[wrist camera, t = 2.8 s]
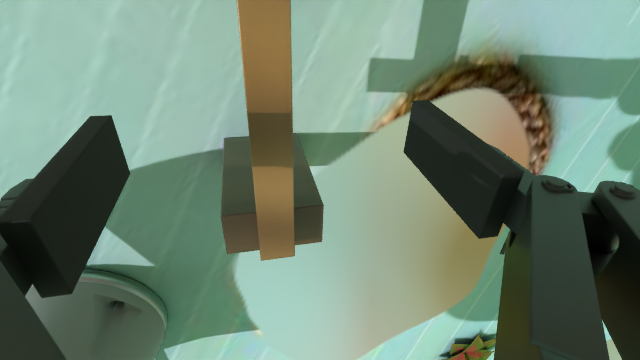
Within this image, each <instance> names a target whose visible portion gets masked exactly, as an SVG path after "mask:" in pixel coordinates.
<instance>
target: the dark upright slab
mask: <svg viewBox="0 0 640 360" xmlns="http://www.w3.org/2000/svg"><path fill="white" fill-rule="evenodd" d="M293 180H294V240H295V245H300V244H309V243H316V242H321V241H322V229H323V206H324V205H323V203H322V200H321V197H320V195H319V192H318V189H317V187H316V184H315V181H314V179H313V176H312V173H311V171H310V168H309V165H308V163H307V160H306V157H305V155H304V152H303V149H302V147H301V144H300V141H299V139H298V136H297V134H293ZM221 221H222V227H223V233H224V239H225V245H226V251H227V254H232V253H240V252H248V251H255V250H260V246H259V236H258V225H257V214H256V203H255V193H254V182H253V171H252V160H251V150H250V139H249V137H237V138H224V151H223V175H222V199H221Z"/></svg>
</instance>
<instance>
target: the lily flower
mask: <svg viewBox="0 0 640 360" xmlns="http://www.w3.org/2000/svg"><path fill="white" fill-rule="evenodd" d="M479 337H480V336H479V335H478V336H477V337H476V338H475V340H474V341H473V342H472V343H471V345H468V344H452V346H451V350H450V356H453V357H451V358H449V359H443V360H486V359H487V358H488V357H489V356H490V355H491V353H493V352H494V351H488V350H487V349H489V348H491V347H492V346H493V345H494V343H495V342H496V338H494V339H492V340H489V341H485V342H483V341H482V340H481V338H479Z"/></svg>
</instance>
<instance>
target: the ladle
mask: <svg viewBox="0 0 640 360" xmlns="http://www.w3.org/2000/svg"><path fill="white" fill-rule="evenodd" d="M237 10H238V20H239V31H240V42H241V53H242V63H243V74H244V85H245V96H246V106H247V117H248V128H249V139H250V150H251V160H252V171H253V182H254V193H255V203H256V214H257V225H258V236H259V246H260V256H261V260H270V259H277V258H284V257H292V256H294V255H295V240H294V180H293V121H292V61H291V2H290V0H237Z"/></svg>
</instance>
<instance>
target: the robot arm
mask: <svg viewBox="0 0 640 360" xmlns="http://www.w3.org/2000/svg"><path fill="white" fill-rule="evenodd" d="M404 153H405V154H406V155H407V157H408V158H409V159H410V160H411V161H412V162H413V164H414V165H415V166H416V167H417V168H418V169H419V170H420V172H421V173H422V174H423V175H424V176H425V177H426V178H427V180H428V181H429V182H430V183H431V184H432V185H433V187H434V188H435V189H436V190H437V191H438V192H439V193H440V194H441V196H442V197H443V198H444V199H445V200H446V201H447V202H448V204H449V205H450V206H451V207H452V208H453V210H454V211H456V213H457V214H458V215H459V216H460V217H461V219H462V220H463V221H464V222H465V223H466V224H467V226H468V227H469V228H470V229H471V230H472V231H473V232H474V234H475V235H476V236H477V237H478V238H479V239H480V238H488V237H495V236H498V234H499V232H500V229H501V227H502V224H503V223H504V224H505V225H506V226H507V227H508V228H509V229H510V232H509V234H508V236H507V238H506V241H505V243H504V245H503V248H502V250H501V252H500V254H504V252H505V259H504V268H503V277H502V287H501V296H500V306H499V315H498V324H497V334H496V343H495V353H494V360H609V354H608V350H607V344H606V339H605V333H604V328H603V323H602V320H603V322H604V324H605V326H606V328H607V330H608V332H609V334H610V336H611V338H612V340H613V342H614V344H615V346H616V348H617V350H618V352H619V354H620V356H621V358H622V360H640V190H638V189H636V188H634V187H633V186H631V185H629V184H627V185H626V183H623V182H620V183H619V182H615V181H603V182H600V183H599V185H598V186H597V188H596V190H595V192H594V193H587V192H578V191H577V190H576V188H575V187H574V186H573V185H572V184H570V183H569V182H567V181H565V180H563V179H560V178H556V177H553V176H547V175H538V176H535V175H534V174H532V173H531V172H529V171H528V170H527V169H525V168H524V167H522V166H521V165H520V164H518V163H517V162H516V161H514V160H513V159H512V158H510V157H509V156H506V154H504V153H503V152H502V151H501V150H499V149H497V148H495V147H493V146H491V145H489V144H486V143H485V142H484V141H482V140H481V139H480V138H478V137H477V136H476V135H474V134H473V133H471V132H470V131H469V130H467V129H466V128H465V127H463V126H462V125H461V124H459V123H458V122H457V121H455V120H454V119H453V118H451V117H450V116H448V115H447V114H446V113H444V112H443V111H442V110H440V109H439V108H438V107H436V106H435V105H434V104H432V103H431V102H430V101H428V100H422V101H413V104H412V109H411V115H410V120H409V126H408V131H407V136H406V142H405V147H404ZM129 175H130V171H129V168H128V165H127V162H126V159H125V156H124V153H123V150H122V147H121V144H120V141H119V137H118V134H117V131H116V128H115V125H114V122H113V119H112V116H111V115H109V116H90V117H89V118H88V119H87V121H86V122H85V123H84V124H83V125H82V126H81V127H80V128H79V129H78V130H77V132H76V133H75V134H74V135H73V136H72V137H71V138H70V139H69V140H68V141H67V143H66V144H65V145H64V146H63V147H62V148H61V149H60V150H59V151H58V152H57V154H56V155H55V156H54V157H53V158H52V159H51V160H50V161H49V162H48V163H47V165H46V166H45V167H44V168H43V169H42V170H41V171H40V172H39V173H38V174H37V176H36V177H35V178H34V179H26V180H24V181H23V182H21V183H19V184H18V185H16V186H14V187H13V188H11V189H10V190H9V191H8V192H7V193H6V194H5V195H4V196H3V197H2V198H1V201H0V360H154V359H155V357H156V355H157V353H158V351H159V349H160V348H161V345H162V342H163V340H164V337H165V332H166V327H167V312H166V308H165V306H164V304H163V303H162V301H161V300H160V298H159V297H158V296H157V295H156V294H155V293H154V292H153V291H151V290H150V289H149V288H147V287H146V286H144V285H143V284H141V283H139V282H137V281H135V280H132V279H130V278H127V277H125V276H122V275H118V274H114V273H110V272H105V271H99V270H89V269H84V268H85V266H86V264H87V262H88V260H89V258H90V256H91V253H92V251H93V249H94V247H95V245H96V243H97V241H98V239H99V237H100V235H101V233H102V231H103V229H104V227H105V225H106V222H107V220H108V218H109V216H110V214H111V212H112V210H113V208H114V206H115V204H116V202H117V200H118V198H119V196H120V194H121V191H122V189H123V187H124V185H125V183H126V181H127V179H128V177H129ZM618 244H619V245H618ZM617 246H618V248H617V250H616V247H617Z"/></svg>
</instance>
